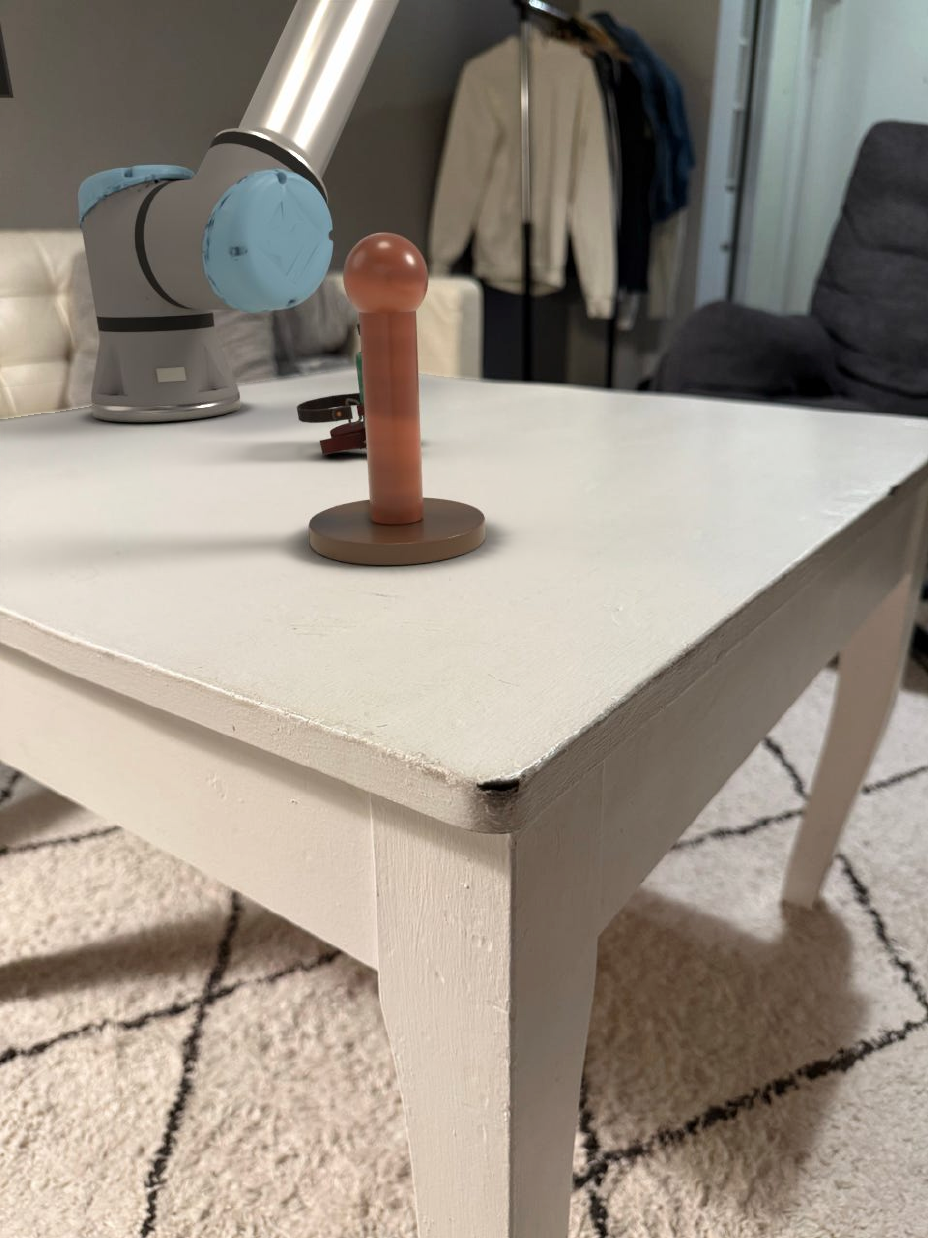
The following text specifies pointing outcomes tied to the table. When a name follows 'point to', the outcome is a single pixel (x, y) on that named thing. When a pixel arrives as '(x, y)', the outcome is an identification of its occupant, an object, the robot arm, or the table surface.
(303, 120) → the robot arm
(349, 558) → the marker post
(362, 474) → the table surface
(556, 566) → the table surface
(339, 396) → the binoculars
